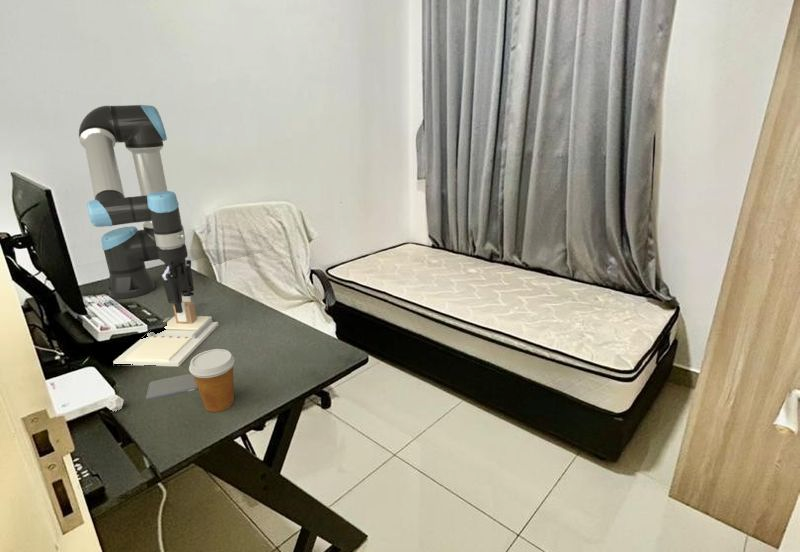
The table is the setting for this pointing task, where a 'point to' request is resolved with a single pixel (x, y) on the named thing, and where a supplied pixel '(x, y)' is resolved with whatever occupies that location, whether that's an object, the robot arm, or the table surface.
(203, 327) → the ticket board
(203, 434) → the table surface
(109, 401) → the game die
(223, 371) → the disposable coffee cup
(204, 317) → the tabbed cream panel
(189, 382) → the smartphone
